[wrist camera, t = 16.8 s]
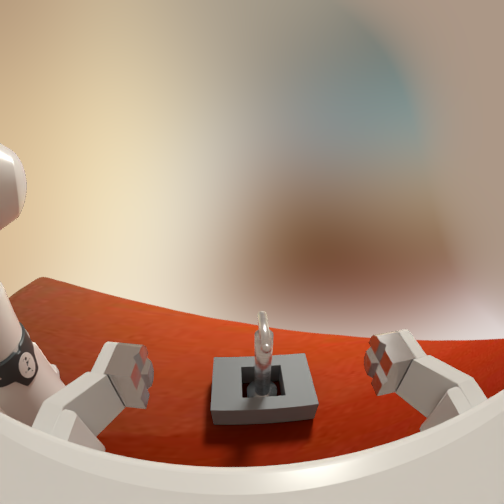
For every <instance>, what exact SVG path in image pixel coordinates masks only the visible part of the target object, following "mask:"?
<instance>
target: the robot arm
mask: <svg viewBox="0 0 504 504" xmlns="http://www.w3.org/2000/svg"><path fill="white" fill-rule="evenodd" d="M26 189H27V182H26V175H25V171H24V168H23V165H22V163H21V161H20V159H19V158H18V156H17V155H16V154H15V153H14V152H13V151H12V150H11V149H9V148H7V147H5V146H3V145H2V144H1V143H0V230H1V229H2V228H4V227H5V226H7V225H8V224H9V223H11V222H12V221H14V220H15V219H16V218H18V217H19V215H20V213H21V211H22V208H23V205H24V202H25V197H26ZM369 344H370V346H371V347H370V348H369V349H368V350H367V351H366V353H365V357H364V367H365V371H366V373H367V375H369V376H370V377H372V378H373V379H372V382H371V384H372V386H373V388H374V391H375V393H376V395H377V396H379V395H384V394H388V393H392V392H396V393H397V394H398V395H399V396H400V397H402V398H403V399H404V400H405V401H407V402H408V403H409V404H410V405H412V406H413V407H414V408H415V409H417V410H418V411H419V412H421V413H422V414H423V415H424V416H426V417H427V419H426V420H425V421H424V423H423V424H422V425H421V427H420V431H421V432H419V433H416V434H414V435H411V436H408V437H405V438H403V439H400V440H397V441H394V442H390V443H387V444H384V445H381V446H377V447H374V448H370V449H367V450H363V451H359V452H355V453H350V454H346V455H341V456H337V457H332V458H326V459H321V460H315V461H308V462H301V463H293V464H284V465H273V466H258V467H203V466H188V465H177V464H168V463H160V462H153V461H146V460H140V459H135V458H130V457H125V456H120V455H116V454H111V453H107V452H105V447H104V445H103V444H102V443H101V442H100V441H99V440H98V439H97V438H96V436H97V435H98V434H99V433H100V432H101V431H102V430H103V429H104V428H105V427H106V426H107V425H108V424H109V423H110V422H111V421H112V420H113V419H114V418H115V417H116V416H117V415H118V414H119V413H120V412H121V411H122V410H123V409H124V408H125V407H134V408H143V409H146V407H147V403H148V399H149V392H148V390H147V389H148V388H149V387H151V386H152V383H153V376H154V371H153V365H152V362H151V361H150V360H149V359H148V358H147V355H148V351H147V348H146V346H144V345H137V344H127V343H115V342H106V343H105V344H104V346H103V348H102V350H101V352H100V354H99V356H98V358H97V360H96V362H95V364H94V366H93V368H92V370H91V372H86V373H85V374H83V375H82V376H80V377H79V378H77V379H76V380H74V381H73V382H72V383H70V384H69V385H67V386H66V387H65V385H64V384H63V382H62V381H61V379H60V376H59V370H58V369H57V367H56V366H55V365H53V364H50V363H49V362H48V360H47V359H46V358H45V356H44V355H43V353H42V352H41V350H40V349H39V347H38V346H37V344H36V343H34V342H32V341H31V339H30V336H29V334H28V333H27V331H26V330H25V328H24V326H23V325H22V324H21V323H20V322H19V321H18V319H17V317H16V315H15V313H14V310H13V308H12V306H11V303H10V301H9V299H8V296H7V294H6V291H5V289H4V286H3V285H2V283H1V282H0V504H504V390H502V391H500V392H499V393H497V394H496V395H494V396H492V397H491V398H489V399H487V398H486V396H485V395H484V393H483V392H482V390H481V389H480V387H479V386H478V384H477V383H476V381H475V380H474V378H472V377H470V376H468V375H467V374H465V373H463V372H461V371H459V370H457V369H455V368H453V367H451V366H449V365H448V364H446V363H444V362H442V361H440V360H438V359H436V358H434V357H432V356H431V355H428V356H427V355H426V354H425V352H424V351H423V350H422V348H421V347H420V345H419V344H418V342H417V341H416V339H415V338H414V337H413V335H412V334H411V333H410V331H409V330H407V329H404V330H399V331H395V332H389V333H383V334H377V335H373V336H372V337H371V338H370V341H369ZM124 406H125V407H124Z"/></svg>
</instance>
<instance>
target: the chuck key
mask: <svg viewBox="0 0 504 504" xmlns="http://www.w3.org/2000/svg"><path fill="white" fill-rule="evenodd" d="M257 317H258V326H259V330H257V331H256V332H255V380H254V381H252V382H251V383H250V384H249V385H248V387H247V398H249V397H269V396H277V387H276V385H275V384H274V383H273V382H272V381H270V379H271V364H272V349H273V332H272V331H270V330H269V325H268V319H267V314H266V312H264V311H260V312H259V313H258V315H257Z"/></svg>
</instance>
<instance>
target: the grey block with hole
mask: <svg viewBox="0 0 504 504" xmlns="http://www.w3.org/2000/svg"><path fill="white" fill-rule="evenodd" d="M254 380H255V357H214V365H213V379H212V395H211V414H212V419H213V423H214V425H239V424H264V423H278V422H289V421H298V420H306V419H314V416H315V413H316V410H317V407H318V400H317V396H316V392H315V389H314V385H313V381H312V378H311V374H310V370H309V367H308V363H307V359H306V356H305V353H302V354H290V355H275V356H272V364H271V379H270V381H272V382H275V381H279V385H280V392H281V396H269V397H249V398H242V383H251V382H252V381H254Z"/></svg>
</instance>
